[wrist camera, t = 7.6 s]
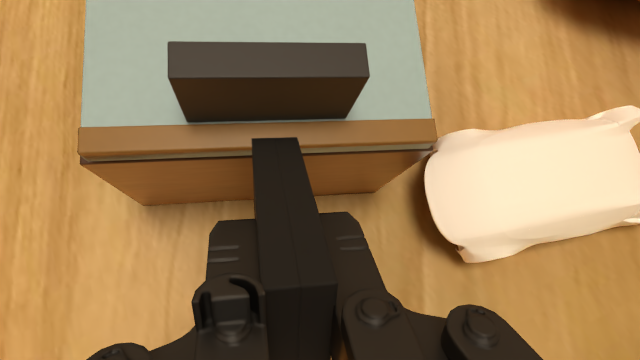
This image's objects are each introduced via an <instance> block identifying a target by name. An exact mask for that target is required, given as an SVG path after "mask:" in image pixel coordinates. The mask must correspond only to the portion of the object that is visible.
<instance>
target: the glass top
mask: <svg viewBox="0 0 640 360" xmlns="http://www.w3.org/2000/svg"><path fill="white" fill-rule="evenodd" d="M284 137H297V138H298V141H299V145H300V149H301V152H302V153H323V152H349V151H376V150H402V149H428V148H429V147H431V146H432V145H433V144H435V143H436V142H437V133H436V127H435V120H434V119H433V118H432V115H431V108H430V102H429V95H428V89H427V82H426V76H425V69H424V63H423V56H422V50H421V44H420V37H419V31H418V24H417V18H416V11H415V5H414V0H86V15H85V38H84V61H83V84H82V107H81V127H80V128H79V129H78V151H77V152H78V154H79V155H80V156H81V157H83V158H84V159H85V160H87V161H113V160H139V159H165V158H192V157H218V156H244V155H252V140H251V138H284Z"/></svg>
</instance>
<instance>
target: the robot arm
mask: <svg viewBox="0 0 640 360" xmlns="http://www.w3.org/2000/svg"><path fill="white" fill-rule="evenodd" d="M251 140H252V164H253V188H254V210H255V219H241V220H225V221H218V223H217V224H216V225H215V227H214V228H213V230H212V231H211V233H210V235H209V247H208V250H209V251H208V259H207V270H206V281H205V282H203V284H202V285H201V286H200V287H199V288H198V289H197V290H196V291H195V294H194V296H193V299H192V308H193V314H194V320H195V326H194V327H193V328H192V329H191V331H190V332H188V333H187V334H185V335H184V336H183V337H181V338H180V339H178V340H176V341H174V342H171V343H169V344H167V345H164V346H161V347H159V348H156V349H154V350H151V351H148V350H147V349H146V348H145V347H144V346H141V345H138V344H134V343H119V344H114V345H112V346H109V347H106V348H104V349H101V350H99V351H98V352H97V353H95V354H94V355H92V356H91V357H89V358H88V359H87V360H330V358H332V360H543V359H542V358H541V357H540V356H539V355H538V354H537V353H536V352H535V351H534V350H533V349H532V348H531V347H530V346H529V345H528V343H527V342H526V341H525V340H524V339H523V338H522V337H521V336H520V335H519V334H518V333H517V332H516V331H515V330H514V329H513V328H512V327H511V326H510V325H509V324H508V323H507V322H506V321H505V320H504V319H503V318H501V317H500V316H499V315H497V314H496V313H495V312H493V311H491V310H489V309H486V308H484V307H482V306H476V305H470V304H469V305H462V306H458V307H456V308H454V309H453V310H451V311H450V313H449V315H448V317H447V318H442V317H436V316H430V315H424V314H420V313H416V312H412V311H410V310H408V309H406V308H404V307H403V306H402V304H401V303H400V301H399V300H398V299H396V298H395V297H394V296H392V295H391V294H390V293H388V292H387V290H386V288H385V286H384V283H383V281H382V278H381V276H380V273H379V271H378V268H377V266H376V263H375V261H374V258H373V256H372V253H371V251H370V249H369V246H368V244H367V241H366V239H365V238H364V234H363V231H362V229H361V226H360V224H359V222H358V221H357V220H356V219H355V218H353V217H352V216H351V215H350V214H349V213H348V212H334V213H318V209H317V206H316V202H315V198H314V195H313V191H312V188H311V184H310V181H309V177H308V173H307V170H306V166H305V163H304V159H303V156H302V152H301V149H300V145H299V141H298V138H297V137H284V138H251Z"/></svg>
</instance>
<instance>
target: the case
mask: <svg viewBox="0 0 640 360" xmlns="http://www.w3.org/2000/svg"><path fill="white" fill-rule="evenodd" d="M432 151H433V145H432V146H431V147H429V148H428V149H402V150H376V151H349V152H323V153H302V156H303V159H304V163H305V166H306V170H307V173H308V177H309V181H310V184H311V188H312V191H313V195H314V196H321V195H339V194H357V193H374V192H376V191H377V190H379V189H380V188H381V187H383V186H384V185H385V184H387V183H388V182H390V181H391V180H392V179H394V178H395V177H397V176H398V175H400V174H401V173H402V172H404V171H405V170H407V169H408V168H409V167H411V166H412V165H414V164H415V163H416V162H418V161H419V160H421V159H422V158H424V157H425V156H426V155H428V154H429V153H431V152H432ZM80 165H82V166H83V167H85V168H86V169H88V170H90V171H91V172H93V173H94V174H96V175H97V176H99V177H100V178H102V179H103V180H105V181H106V182H108V183H109V184H111V185H112V186H114V187H116V188H117V189H119V190H120V191H122V192H123V193H125V194H126V195H128V196H129V197H131V198H132V199H134V200H135V201H137V202H138V203H140V204H141V205H161V204H179V203H197V202H214V201H232V200H250V199H254V188H253V164H252V155H244V156H218V157H192V158H165V159H139V160H113V161H87V160H85V159H84V158H83V157H81V156H80Z"/></svg>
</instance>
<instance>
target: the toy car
mask: <svg viewBox="0 0 640 360" xmlns="http://www.w3.org/2000/svg"><path fill="white" fill-rule="evenodd" d="M639 122H640V109H639V108H637V107H634V106H623V107H618V108H614V109H610V110H607V111H604V112H601V113H598V114H595V115H593V116H590V117H587V118H584V119H567V120H552V121H543V122H536V123H529V124H524V125H519V126H514V127H510V128H507V129H502V130H479V129H466V130H461V131H457V132H453V133H449V134H447V135H444V136H442V137H440V138H438V139H437V142H436V143H435V144H433V151H432V152H431V155H430V156H431V157H430V159H429V160H428V163H427V165H426V168H425V173H424V186H425V193H426V197H427V201H428V205H429V209H430V212H431V215H432V218H433V220H434V222H435V224H436V226H437V228H438V230H439V231H440V233H441V234H442V235H443V236H444V237H445V238H446V239H447V240H448V241H449V242H451V243H453V244H456V245H458V248H459V251H457V250H456V251H457V252H458V253H459V254H460V255H461V256H462V258H463V261H464V262H466V263H476V262H484V261H490V260H495V259H500V258H504V257H508V256H511V255H514V254H516V253H518V252H520V251H522V250H524V249H526V248H528V247H530V246H532V245H535V244H540V243H546V242H553V241H559V240H564V239H569V238H573V237H579V236H584V235H589V234H592V233H596V232H599V231H602V230H606V229H609V228H614V227H618V226H630V225H638V224H640V153H639V151H638V148H637V146H636V143H635V141H634V139H633V137H632V135H631V134H630V132H629V131H630V129H631V128H632V127H634V126H635V125H636V124H638V123H639ZM590 214H591V215H590ZM455 249H456V248H455Z"/></svg>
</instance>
